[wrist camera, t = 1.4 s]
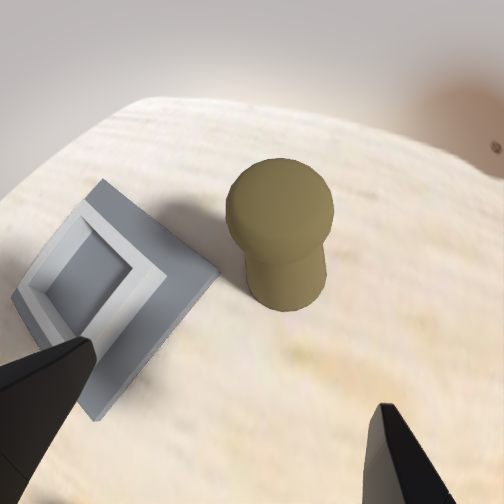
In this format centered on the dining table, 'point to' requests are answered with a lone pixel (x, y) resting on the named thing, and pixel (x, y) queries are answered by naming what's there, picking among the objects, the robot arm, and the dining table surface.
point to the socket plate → (111, 290)
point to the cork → (281, 231)
